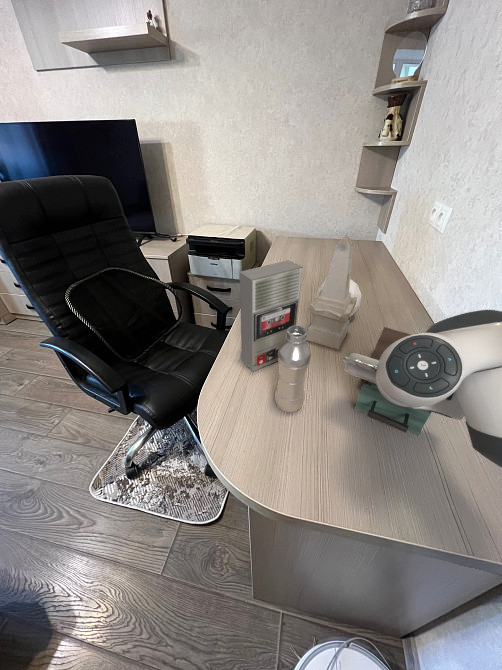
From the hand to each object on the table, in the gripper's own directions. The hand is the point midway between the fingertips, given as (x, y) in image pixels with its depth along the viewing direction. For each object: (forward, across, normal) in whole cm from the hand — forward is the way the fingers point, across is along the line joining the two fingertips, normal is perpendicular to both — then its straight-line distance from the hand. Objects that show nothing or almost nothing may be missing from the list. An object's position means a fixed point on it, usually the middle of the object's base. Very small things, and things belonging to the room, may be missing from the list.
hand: (397, 384), depth 57 cm
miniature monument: (+19, -21, +8) cm, 29 cm away
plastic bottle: (-2, -19, -13) cm, 23 cm away
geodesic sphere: (+28, -23, +18) cm, 40 cm away
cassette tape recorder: (+6, -31, -4) cm, 32 cm away
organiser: (+13, 0, +3) cm, 13 cm away
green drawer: (+5, 0, -4) cm, 6 cm away
